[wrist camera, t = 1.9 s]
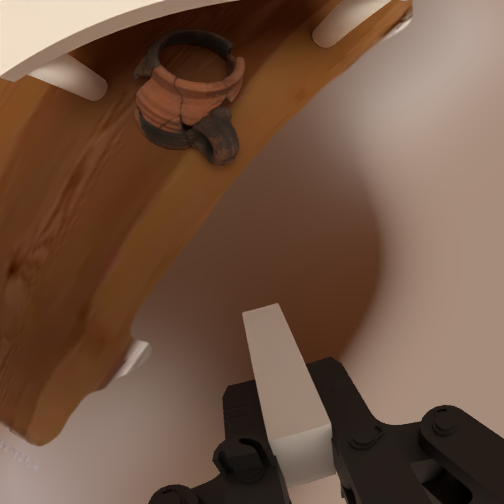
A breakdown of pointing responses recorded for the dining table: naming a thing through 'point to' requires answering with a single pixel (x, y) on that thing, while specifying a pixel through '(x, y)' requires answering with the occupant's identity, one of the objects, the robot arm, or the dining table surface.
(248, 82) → the dining table surface
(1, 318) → the dining table surface
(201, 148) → the pottery mug
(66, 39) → the side counter
